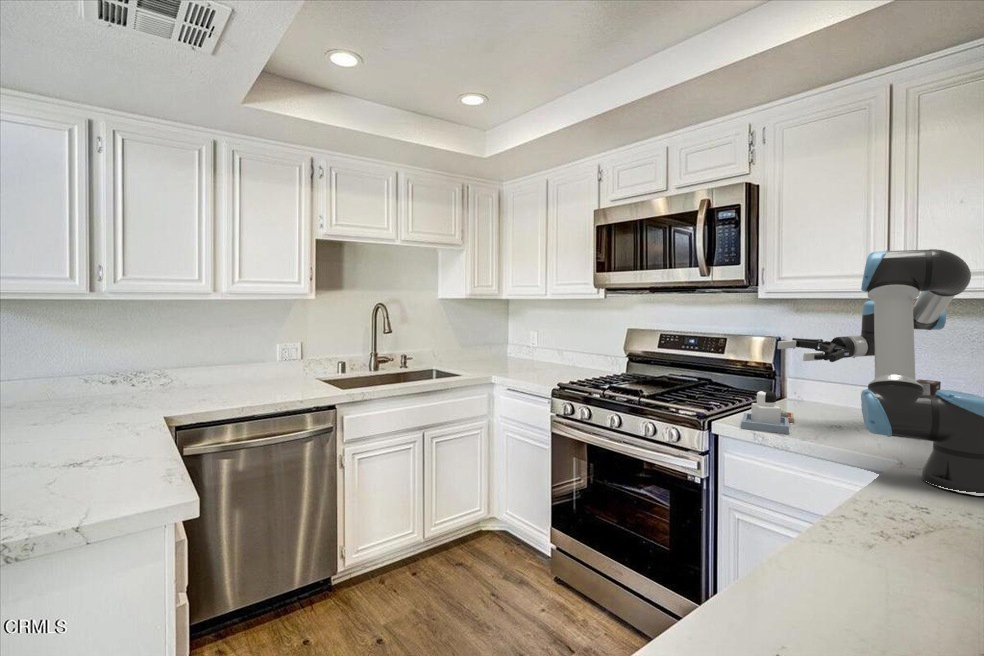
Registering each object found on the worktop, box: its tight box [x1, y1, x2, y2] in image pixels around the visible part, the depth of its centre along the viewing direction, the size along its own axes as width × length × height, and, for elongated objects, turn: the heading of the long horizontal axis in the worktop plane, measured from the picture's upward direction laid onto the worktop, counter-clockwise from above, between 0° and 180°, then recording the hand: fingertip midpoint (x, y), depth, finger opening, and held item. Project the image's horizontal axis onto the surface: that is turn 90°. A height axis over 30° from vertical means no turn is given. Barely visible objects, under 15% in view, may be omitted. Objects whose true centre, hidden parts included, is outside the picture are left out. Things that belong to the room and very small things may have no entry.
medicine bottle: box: [750, 390, 782, 425], centre depth 180 cm, size 7×7×12 cm
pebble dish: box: [786, 411, 795, 424], centre depth 191 cm, size 10×10×2 cm
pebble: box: [781, 410, 788, 417], centre depth 189 cm, size 3×3×3 cm
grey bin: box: [741, 412, 790, 435], centre depth 181 cm, size 14×14×3 cm
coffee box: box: [916, 378, 942, 395], centre depth 182 cm, size 9×6×16 cm
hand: (790, 350), depth 176 cm, fingers open, 13 cm apart
